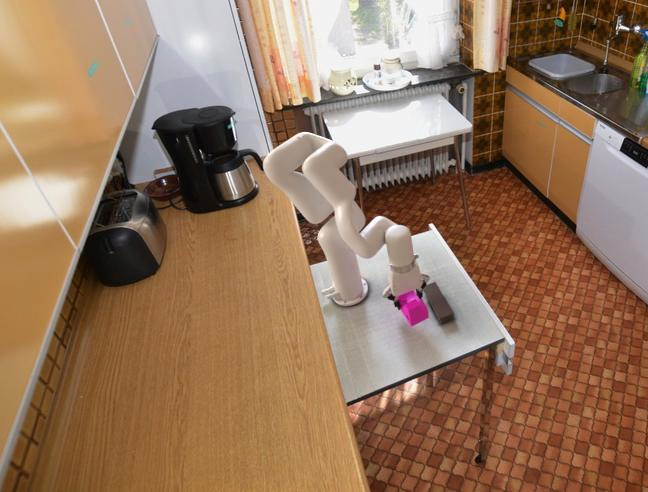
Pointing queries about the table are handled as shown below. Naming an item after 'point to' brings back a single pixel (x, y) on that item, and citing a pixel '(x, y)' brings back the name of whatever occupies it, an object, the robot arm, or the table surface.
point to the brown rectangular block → (438, 302)
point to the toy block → (413, 308)
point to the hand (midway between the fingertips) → (408, 302)
